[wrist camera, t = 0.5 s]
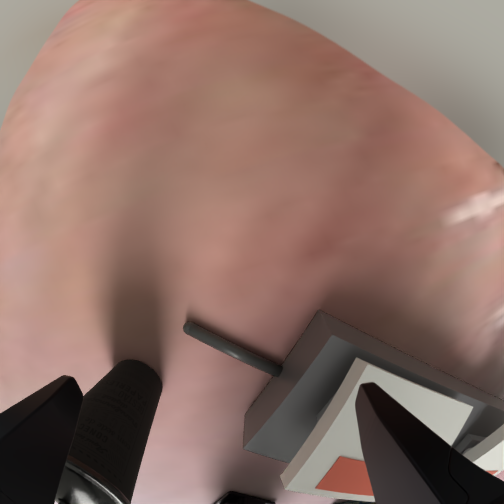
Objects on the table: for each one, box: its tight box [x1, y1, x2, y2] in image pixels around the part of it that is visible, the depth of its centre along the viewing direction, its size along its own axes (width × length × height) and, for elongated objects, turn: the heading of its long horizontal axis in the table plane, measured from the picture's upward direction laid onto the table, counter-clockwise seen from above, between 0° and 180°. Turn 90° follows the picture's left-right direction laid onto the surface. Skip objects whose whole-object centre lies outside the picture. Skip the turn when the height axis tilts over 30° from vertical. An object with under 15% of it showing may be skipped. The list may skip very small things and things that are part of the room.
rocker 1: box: [280, 357, 473, 502], centre depth 17 cm, size 10×13×2 cm
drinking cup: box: [55, 360, 162, 504], centre depth 14 cm, size 8×8×20 cm
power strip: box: [183, 310, 504, 463], centre depth 22 cm, size 12×44×6 cm, turn 61°
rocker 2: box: [462, 424, 504, 476], centre depth 18 cm, size 10×13×2 cm
